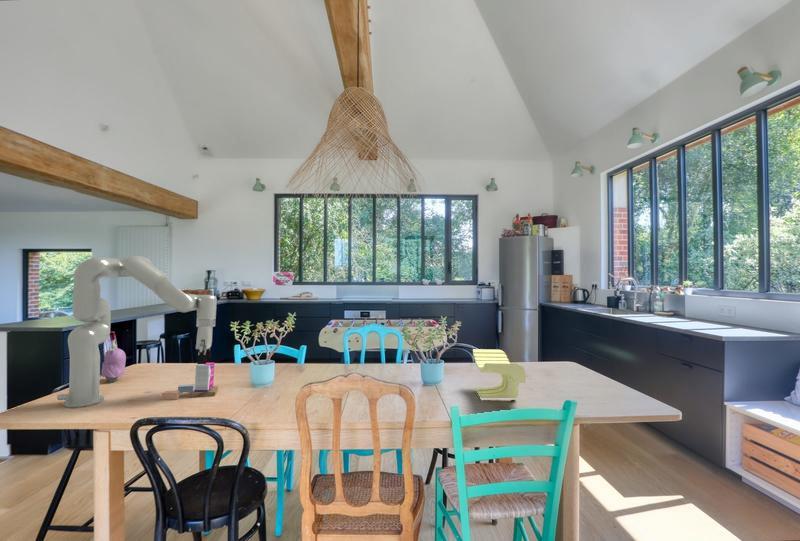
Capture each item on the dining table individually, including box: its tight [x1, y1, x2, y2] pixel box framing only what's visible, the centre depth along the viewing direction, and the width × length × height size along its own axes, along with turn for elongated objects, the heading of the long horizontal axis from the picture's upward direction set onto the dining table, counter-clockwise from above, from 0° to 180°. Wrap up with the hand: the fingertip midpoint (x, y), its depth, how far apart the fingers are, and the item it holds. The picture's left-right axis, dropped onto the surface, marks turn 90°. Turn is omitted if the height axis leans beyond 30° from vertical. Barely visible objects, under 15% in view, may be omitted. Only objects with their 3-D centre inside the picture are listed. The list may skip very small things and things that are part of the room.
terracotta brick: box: [161, 390, 181, 401], centre depth 159 cm, size 6×3×3 cm, turn 96°
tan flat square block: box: [190, 385, 219, 399], centre depth 166 cm, size 9×9×2 cm
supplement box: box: [194, 362, 215, 391], centre depth 166 cm, size 6×6×12 cm
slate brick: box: [177, 383, 195, 394], centre depth 169 cm, size 6×3×3 cm, turn 107°
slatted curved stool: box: [472, 348, 526, 399], centre depth 165 cm, size 30×16×18 cm, turn 178°
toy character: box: [100, 339, 127, 383], centre depth 186 cm, size 12×10×20 cm
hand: (203, 361), depth 166 cm, fingers open, 9 cm apart
